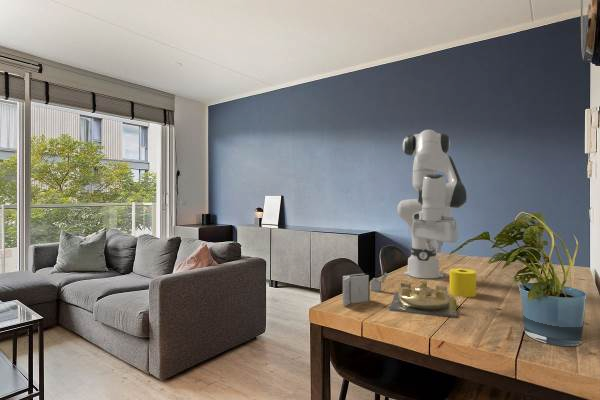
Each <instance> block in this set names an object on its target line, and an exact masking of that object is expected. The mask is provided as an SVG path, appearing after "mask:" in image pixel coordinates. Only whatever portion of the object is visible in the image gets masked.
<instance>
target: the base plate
mask: <svg viewBox="0 0 600 400" xmlns="http://www.w3.org/2000/svg"><path fill="white" fill-rule="evenodd" d="M389 311H392V312H393V311H395V312H404V313H410V314H411V313H414V314H420V315H429V316H430V315H431V316H438V317H440V316H441V317H446V318H447V317H448V318H456V319H457V318H458V313H457V307H456V303H455V298H454V296H449V306H448V307H447V308H444V309H437V310H427V309H418V308H413V307H409V306H406V305H403V304H401V303H400V302H399V301H398V291H395V292H394V296H393V298H392V301H391V303H390V306H389Z"/></svg>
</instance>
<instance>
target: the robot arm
mask: <svg viewBox="0 0 600 400" xmlns="http://www.w3.org/2000/svg"><path fill="white" fill-rule="evenodd" d="M401 145H402V150H403V152H404V154H406V155H407V156H414V159H413V162H412V163H413V165H412V188H413V189H414V190H415V191H416V192H417V195H418V196H417V198H409V199H408V198H407V199H404V200H403V199H402V200H400V202H399V203H398V205H397V207H396V208H397V209H396V211H397V212H396V213H397V214H398V217H400V219H402V220H403V221H404V222H405V223H406V224H407V225H408V228H409V229H410V233H411V249H410V254H411V255H410V256H409V257H408V259H407V270H406V271H404V272H403V274H404V275H405V276H409V277H413V278H416V279H417V278H418V279H438V278H444V274H443V273H442V272H441V271H440V269H441V267H440V260H439V259H438V257H437V253H441V250H442V249H441V248H442V247H443V244H444V243H449V244H451V243H457V242H458V240H459V236H458V235H459V233H458V226H457V220H455V218H454V217H452V216H451V214H452V209H453V208H455V209H459V208H460V207H462V206H463V205H465V204H466V203H467V198H468V193H467V190H466V187H465V185H464V183H463V181H462V180H461V178H460V175H459V172H458V170H457V167H456V164H455V162H454V160H453V158H452V157H451V156H450V155H448V154H447V153H448V151H449V149H450V146H451V140H450V138H449V135H448V134H447V133H443V132H440V133H438V132H436V131H435V130H433V129H425V130H423V131H421V132H420V133H416V134H413V133H412V134H408V135H406V136H404V138H403V141H402V144H401ZM436 171H437V172H440V173H442V174H443V175H442V174H439V173H438V174H437V173H436ZM444 174H445V176H446V179H447V181H448V182H447V183H446V179H445V176H444ZM436 244H437V245H436Z"/></svg>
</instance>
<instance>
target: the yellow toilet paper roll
mask: <svg viewBox="0 0 600 400" xmlns="http://www.w3.org/2000/svg"><path fill="white" fill-rule="evenodd" d="M449 294H451V295H453V296H456V297H461V296H463V297H464V298H473V297H476V296H477V271H475V270H473V269H468V268H459V267H458V268H450V269H449ZM463 297H462V298H463Z"/></svg>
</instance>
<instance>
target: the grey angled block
mask: <svg viewBox="0 0 600 400" xmlns="http://www.w3.org/2000/svg"><path fill="white" fill-rule="evenodd" d="M388 275H389V274H388V273H387V272H384V274H383V276H382V278H381V279H380V280H379V278H377V277H373V278H372V279H370V291H371V292H382V284H384V283H385V281H386V279H387V277H388Z"/></svg>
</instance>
